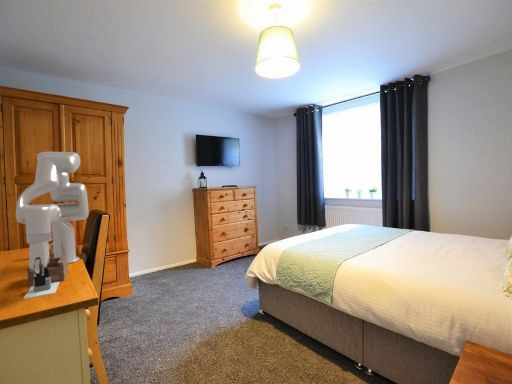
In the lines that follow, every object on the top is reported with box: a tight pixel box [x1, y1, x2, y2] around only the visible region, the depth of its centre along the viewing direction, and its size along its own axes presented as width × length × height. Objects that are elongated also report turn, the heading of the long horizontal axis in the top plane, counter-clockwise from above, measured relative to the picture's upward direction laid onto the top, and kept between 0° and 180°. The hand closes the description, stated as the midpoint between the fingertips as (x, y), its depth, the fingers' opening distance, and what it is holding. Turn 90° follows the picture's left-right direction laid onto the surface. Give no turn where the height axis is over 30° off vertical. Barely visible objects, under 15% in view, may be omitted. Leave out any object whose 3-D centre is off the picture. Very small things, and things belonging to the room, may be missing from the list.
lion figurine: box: [49, 242, 54, 255], centre depth 158 cm, size 15×5×9 cm, turn 154°
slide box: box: [26, 255, 69, 288], centre depth 118 cm, size 14×12×8 cm
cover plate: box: [22, 277, 60, 300], centre depth 104 cm, size 13×9×5 cm
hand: (42, 282), depth 104 cm, fingers open, 6 cm apart
